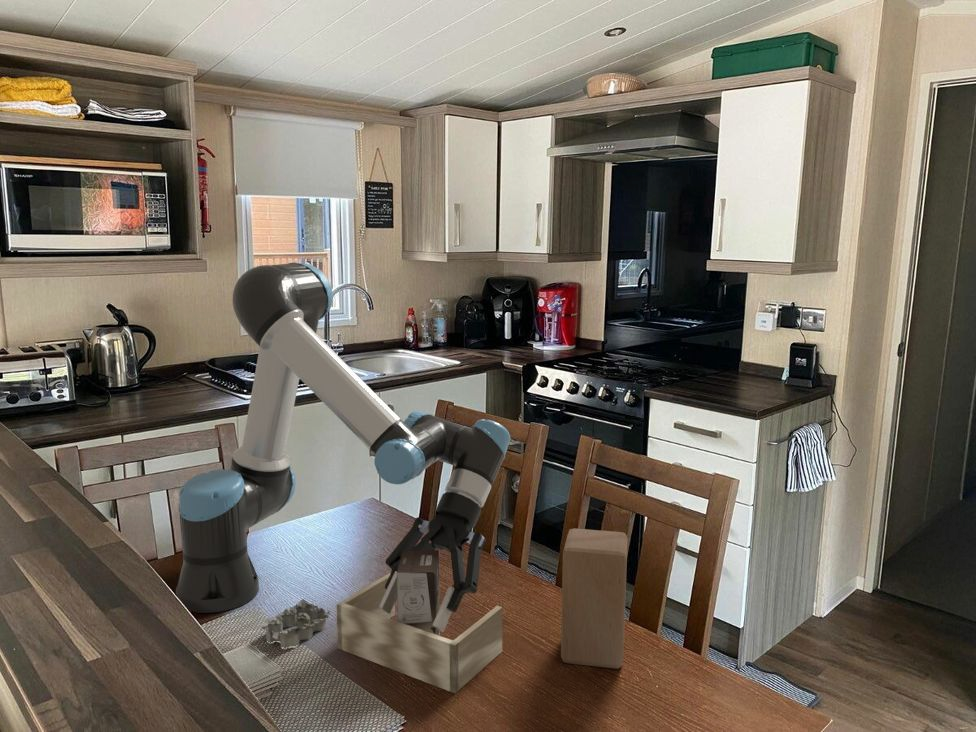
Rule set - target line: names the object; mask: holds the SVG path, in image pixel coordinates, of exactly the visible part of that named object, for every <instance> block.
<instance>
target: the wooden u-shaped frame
mask: <svg viewBox="0 0 976 732" xmlns="http://www.w3.org/2000/svg"><path fill="white" fill-rule="evenodd" d="M390 574H391V572H388V574H386V575H384V576H382V577H380V578H379V579H377V580H376V581H374V582H372V583H371V584H368V585H367V586H365V587H364V588H362V589H360V590H359V591H357V592H355V593H353V594H352V595H350V596H349V597H347V598H345V599H344V600H342V601H339V603H337V604H336V622H337V623H336V624H337V625H336V626H337V628H336V629H337V649H338V650H341V651H344V652H346V653H348V654H349V653H350V654H351V655H355V656H356V657H360V658H362V659H363V660H364V659H365V660H367V661H370V662H373V663H375V664H378V665H380V666H383V667H385V668H388V669H390V670H393V671H396V672H399V673H401V674H403V675H406V676H409V677H411V678H414V679H417V680H419V681H421V682H424V683H426V684H430V685H431V686H434V687H437V688H440V689H443V690H446V691H447V692H450V693H453V694H457V693H458V692H460V690H461V689H462V688H463V687H465V685H466V684H468V683H469V682H470V681H471V680H472V679H473V678H475V676H477V675H478V674H479V673H480V672H481V671H482V670H484V668H486V666H488V665H489V664H490V663H492V661H493V660H495V659H496V657H498V656H499V655H500V654H501V653H502V652H503V606H499V605H496V606H494V607H493V608H492V609H491V610H489V611H488V612H487V613H486V614H485V615H484V616H482V617H481V618H480V619H478V621H476V622H475V623H473V624H472V625H471V626H470V627H468V628H467V629H466V630H465V631H464V632H462V633H461V634H459V635H458V636H457V637H456V638H455V639H450V638H446V637H444V636H441V635H440V636H438V635H435V634H432V633H429V632H427V631H424V630H421V629H418V628H415V627H412V626H409V625H406V624H403V623H400V622H398V620H394V619H392V618H393V617H394V616H395V615H396V606H395V605H396V604H395V603H396V602H395V603H394V606H393V608H392V610H391V612H390V614H388V613H386V612H385V611H383V610H382V609H381V608H379V605H380V603H381V601H382V599H383V597H384V595H385V592H386V589H385V585H386V582H387V580H388V578H389V576H390Z"/></svg>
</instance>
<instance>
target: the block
mask: <svg viewBox="0 0 976 732" xmlns="http://www.w3.org/2000/svg"><path fill="white" fill-rule="evenodd" d="M627 563H628V536H627V534H626V533H625V532H622V531H610V530H596V529H587V528H570V529H569V530H568V533H567V536H566V539H565V544H564V547H563V550H562V575H561V577H562V579H561V581H562V583H561V588H562V589H561V623H560V624H561V630H560V631H561V632H560V635H561V636H560V657H561V659H562V662H564V663H566V664H573V665H581V666H582V665H583V666H588V667H589V666H590V667H591V666H592V667H599V668H607V669H615V670H617V669H620V668H621V666H622V665H623V662H624V647H625V646H624V643H625V624H626V623H625V618H626V616H625V615H626V596H627V595H626V591H627V590H626V588H627V567H628V566H627Z"/></svg>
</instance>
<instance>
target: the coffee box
mask: <svg viewBox="0 0 976 732" xmlns="http://www.w3.org/2000/svg"><path fill="white" fill-rule="evenodd" d="M439 550H440V549H435V550H416V551H403V552H402V556H401V559H400V563H399V566H398V570H397V599H396V601H397V605H396V606H397V622H400V623H403V624H406V625H409V626H412V627H415V628H418V629H421V630H424V631H427V632H429V633H432V634H435V635H438V636H441V635H440V634H441V633H440V632H441V631H439V630H438V629H437V628H435V627H434V626H433V623H434V620H435V618H436V616H437V613H438V611H439V609H440V565H439V564H440V559H439V558H440V557H439V556H440V551H439Z"/></svg>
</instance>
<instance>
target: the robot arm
mask: <svg viewBox="0 0 976 732" xmlns="http://www.w3.org/2000/svg"><path fill="white" fill-rule="evenodd" d="M231 299H232V300H231V301H232V307H233V311H234V313H235V316H236V318H237V321H238V322H239V324H240V326H241V327H242V328H243V329H244V331H245V332H246V333H247V335H248V336H249V337H250V339H251V340H252V341H254V342H255V343H256V344H257V346H259V350H258V355H257V361H256V365H255V367H256V368H255V373H254V376H253V377H254V378H253V383H252V389H251V395H250V398H249V399H250V401H249V405H248V411H247V416H246V423H245V428H244V434H243V439H242V444H241V446H240V447H238V448H236V449H235V450H234V451H233V452H232V458H231V462H230V468H229V469H215V470H210V471H208V472H201V473H198V474H197V475H194V476H192V477H191V478H189V479H188V480H186V481H185V483H183V484H182V485H181V488H180V490H179V495H178V497H179V499H178V501H179V503H178V513H179V521H180V522H179V524H180V534H181V536H180V537H181V546H182V556H183V557H182V560H183V563H182V567H181V570H180V574H179V578H178V582H177V585H176V588H175V596H176V595H177V596H178V598H179V599H180V600H181V601H182V602H183V603H184V605H185V606H186V607H187V608H188V609H189V610H190V611H189V612H190V613H195V612H196V614H197V613H199V614H209V613H210V614H212V613H220V612H225V611H229V610H233V609H236V608H238V607H241V606H243V605H245V604H247V603H249V602H251V601H252V600H253V599H254V598H256V596H257V595H258V593H259V591H260V585H259V584H260V583H259V582H260V580H259V577H258V576H259V575H258V574H257V571H256V569H255V567H254V565H253V562H252V559H251V558H250V555H249V551H248V541H247V538H248V536H247V535H248V534H247V530H249V529H250V528H252V527H254V526H255V525H257V524H259V523H260V522H262V521H263V520H265V519H267V518H270V516H272V515H275V514H276V513H278V512H280V510H282V509H283V508H284V507H286V505H287V504H288V503H290V501H291V500H292V497H293V496H294V493H295V491H296V487H297V479H296V474H295V472H293V467H292V465H291V462H292V461H291V457H290V456H289V455H288V454H287V453H286V449H287V443H288V439H289V434H290V429H291V424H292V419H293V413H294V408H295V403H296V398H297V392H298V387H299V382H300V380H301V382H302V383H304V385H306V386H307V388H308V389H310V391H311V392H313V394H315V396H316V397H317V398H318V399H320V400H321V402H322V403H323V404H324V405H325V406H326V407H327V408H328V409H329V410H330V411H331V412H332V413H333V414H334V415H335V416H336V417H337V418H338V419H339V420H340V421H341V422H342V424H343V425H345V426H346V427H347V428H348V429H349V430H350V431H351V432H352V433H353V434H354V435H355V436H356V438H358V439H359V441H361V442H362V443H363V444H364V446H366V447H367V448H368V450H370V451H371V452H372V454H373V455H374V462H373V463H374V467H375V470H376V472H377V474H378V475H379V477H380V478H381V479H382V480H383V481H385V482H386V483H389V484H392V485H403V484H406V483H408V482H410V481H411V480H414V479H415V478H417V477H419V476H420V475H421V474H422V473H423V472H424V471H426V469H428V467H431V465H433V464H435V462H437V461H439V462H442V463H446V464H448V465H450V466H455V467H454V469H453V470H452V473H451V474H450V478H449V479H448V481H447V483H446V486H445V488H444V493H442V495H441V497H440V500H439V502H438V504H437V506H436V508H435V514H434V516H433V518H432V519H431V520H429V521H428V520H424V519H422V518H421V517H420V516H418V517H416V518H415V519H414V522H413V524H412V526H411V528H410V529H409V531H408V532H407V534H406V535H404V537H403V538H402V539H401V541H400V542H399V543H398V544H397V546H396V547H395V548H394V549H393V550H392V552H391V553H390V554H389V555H388V557H386V560H385V562H384V563H385V564H386V565H387V566H388V567H389V568H390V569H391V572H390V573H391V574H390V576H389V578H388V580H387V582H386V585H385V589H386V592H385V595H384V597H383V599H382V601H381V603H380V605H379V608H381V609H382V610H383V611H385V612H386V613H388V614H390V612H391V610H392V608H393V606H394V603H396V601H397V570H398V566H399V563H400V559H401V556H402V552H403V551H416V550H442V551H443V550H445V551H446V552H449V553H450V560H451V571H452V580H453V584H451V585H452V587H449V586H448V588H447V589H446V593H445V594H444V597H443V600H442V602H441V605H439V611H438V613H437V616H436V618H435V620H434V623H433V626H434V627H435V628H437V629H438V630H439V631H440V632H441V633H444V632H445V629H446V627H447V625H448V622H449V620H450V617H451V615H452V613H456V612H457V611H458V608H459V606H460V604H461V602H462V599H463V596H464V595H465V594H470V593H471V594H475V593H477V592H478V584H479V575H480V567H481V557H482V550H483V548H484V546H485V543H486V541H487V539H486V538H485V537H484V536H483V535H482V533H481V532H479V531H476V532H473V529H474V528H475V526H476V525H477V522H478V520H479V518H480V515H481V514H482V510H481V508H483V507H484V505H485V503H486V501H487V499H488V496H489V493H490V491H491V490H492V487H493V484H494V481H495V479H496V478H497V475H498V472H499V471H500V468H501V466H502V464H503V461H504V460H505V458H506V453H507V451H508V448H509V445H510V442H511V435H510V432H509V431H508V430H507V428H506V427H504V425H502V424H500V423H498V422H496V421H494V420H491V419H484V418H483V419H478V420H477V421H476V422H474V425H472V427H468V426H465V425H461V424H458V423H455V422H452V421H450V420H447V419H444V418H440V417H439V416H436V415H434V414H431V413H426V412H421V411H417V410H416V411H411V412H410V413H409V414H408V416H407V418H405V420H404V421H403V420H402V418H400V417H399V415H397V414H396V413H395V412H394V411H393V410H392V409H391V408H390V407H389V406H388V404H386V403H385V402H384V400H382V399H381V398H380V397H379V396H378V395H377V393H376V392H374V391H373V389H372V388H371V387H369V385H368V384H367V383H366V382H365V381H364V380H362V378H361V377H360V376H359V375H358V374H356V372H355V371H353V369H352V368H351V367H350V366H349V365H348V364H347V363H346V362H345V361H344V360H343V359H342V358H341V357H340V356H339V355H338V354H337V353H336V352H335V351H334V350H333V349H332V348H331V347H330V346H329V345H328V344H327V342H325V341H324V340H323V339H322V338H321V336H319V335H318V334H317V331H318V325H319V321H320V320H322V319H323V318H324V317H325V316H326V315H327V314H328V313H329V312H330V310H331V308H332V306H333V303H334V301H333V300H334V293H333V288H332V285H331V283H330V281H329V280H328V278H327V276H326V275H325V273H324V272H322V270H321V269H319V268H317V267H315V266H314V265H312V264H308V263H299V262H294V261H293V262H288V263H281V264H271V265H270V264H266V265H264V264H263V265H258V266H255V267H252V268H250V269H248V270H247V271H245V272H244V273H243V274H241V276H240V277H238V280H237V281H236V284H235V285H234V288H233V292H232V298H231ZM468 541H469V549H468V554H467V564H466V572H465V564H464V548H463V547H464V545H465V544H466V543H467V542H468ZM192 611H193V612H192Z"/></svg>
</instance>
